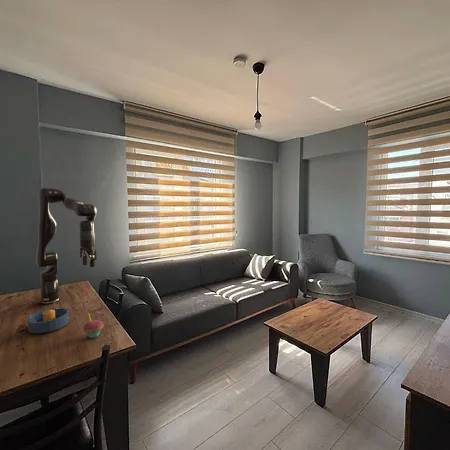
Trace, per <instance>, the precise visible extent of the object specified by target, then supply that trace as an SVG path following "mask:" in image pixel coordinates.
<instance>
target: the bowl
mask: <svg viewBox="0 0 450 450" xmlns="http://www.w3.org/2000/svg"><path fill="white" fill-rule="evenodd" d="M47 310H55V319H53V320H50V321H45V322H43V312H44V311H47ZM69 312H70V310H69V309H68V308H66V307H65V308H64V307H54V308H48V309H44V310H41V311H37V312H35V313H33V314H31V315H30V316H28V317H27V319H26V323H27V331H28V332H29V333H30V334H44V333H45V334H46V333H49V332H53V331H56V330H59V329H61V328H63V327H65V326H66V325H68V324H69V322H70V313H69Z"/></svg>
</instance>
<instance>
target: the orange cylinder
mask: <svg viewBox="0 0 450 450" xmlns="http://www.w3.org/2000/svg"><path fill="white" fill-rule="evenodd" d="M46 310H47V309H46ZM53 319H55V310H47V311H44V312H43V322H45V321H50V320H53Z"/></svg>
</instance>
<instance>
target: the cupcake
mask: <svg viewBox="0 0 450 450" xmlns="http://www.w3.org/2000/svg"><path fill="white" fill-rule="evenodd" d="M87 315H88V322H86V323H85V324H84V326H83V328H82V329H83V332H85V333H86V335H87V337H88V338H89V339H93V338H97V337H98V336H99V335H100V334H101V330H102V329H103V328H104V322H103V321H102V320H99V319H92V318H91V314H90V313H89V312H87Z"/></svg>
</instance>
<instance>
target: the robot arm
mask: <svg viewBox="0 0 450 450" xmlns="http://www.w3.org/2000/svg"><path fill="white" fill-rule="evenodd" d="M37 198H38V227H37V247H36V254H35V264H36V266H37V267H38V268H45V267H47V268H45V270H43V271H40V273H39V281H40V295H41V304H42V305H49V304H54V303H56V302H59V301H60V297H59V293H60V292H59V291H60V288H59V285H61V282H59V279H58V271H59V266H58V263H59V260H58V259H59V258H58V254H57V252H56V251H54V250H51V251H47V247H48V246H49V244H50V243H51V242H52V240H53V239H54V237H55V236H56V234H57V222H56V219H55V218H54V217H53V215H52V213H51V212H50V207H49V204H57V203H59V204H62V205H63V207H64V208H65V209H67V210H69V211H71V212H73V213H74V214H75V215H76V216H77V217H85V219H84V220H83V219H82V220H81V221H80V222H79V246H80V247H79V258H81V259H82V265H83V266H87V265H88V259H89V267H90V268H94V267H95V261H96V260H97V258H98V257H97V249H96V248H93V247H95V246H96V240H95V237H96V236H95V230H94V229H95V228H94V226H95V225H94V223H95V219H96V216H97V208H96V206H95V205H94V204H93V203H83V202H82V201H80V200H78V199H76V198H74V197H71V196H69V195H68V194H66V193H65V192H63V191H62V190H61V189H59V188H56V187H41V188H40V189H39V191H38V197H37Z"/></svg>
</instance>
